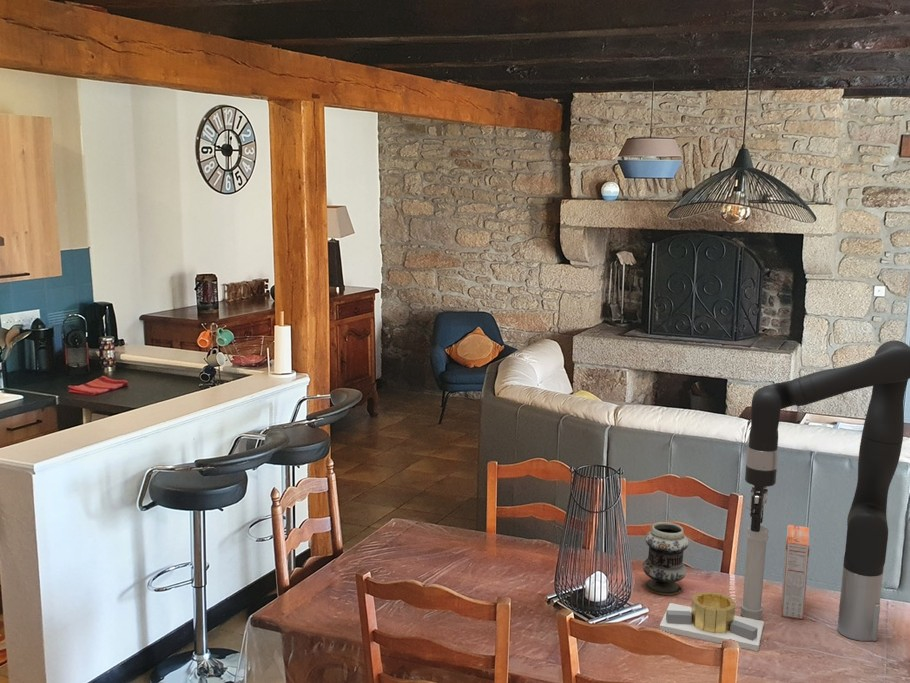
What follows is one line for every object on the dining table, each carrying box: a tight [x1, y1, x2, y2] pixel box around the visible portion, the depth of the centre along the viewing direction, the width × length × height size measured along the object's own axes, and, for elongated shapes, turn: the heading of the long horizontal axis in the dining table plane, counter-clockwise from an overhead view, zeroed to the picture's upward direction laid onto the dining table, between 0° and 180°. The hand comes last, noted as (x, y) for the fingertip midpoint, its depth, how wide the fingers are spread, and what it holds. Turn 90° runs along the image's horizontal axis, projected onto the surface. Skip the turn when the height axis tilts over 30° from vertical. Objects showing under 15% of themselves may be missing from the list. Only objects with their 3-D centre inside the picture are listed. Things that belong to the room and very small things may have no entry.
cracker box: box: [781, 524, 810, 620], centre depth 246 cm, size 14×6×21 cm, turn 159°
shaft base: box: [659, 602, 765, 652], centre depth 235 cm, size 24×14×4 cm, turn 66°
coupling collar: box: [691, 591, 736, 633], centre depth 234 cm, size 10×10×6 cm
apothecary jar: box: [642, 521, 689, 596], centre depth 257 cm, size 12×12×18 cm
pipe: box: [740, 505, 769, 620], centre depth 240 cm, size 6×6×30 cm
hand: (756, 526), depth 238 cm, fingers open, 6 cm apart
